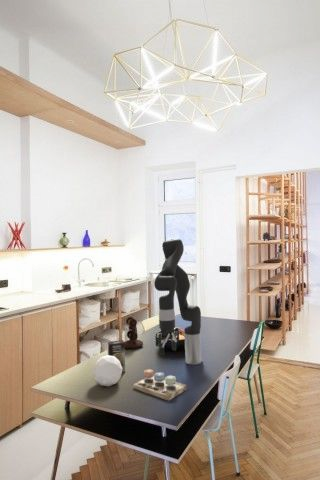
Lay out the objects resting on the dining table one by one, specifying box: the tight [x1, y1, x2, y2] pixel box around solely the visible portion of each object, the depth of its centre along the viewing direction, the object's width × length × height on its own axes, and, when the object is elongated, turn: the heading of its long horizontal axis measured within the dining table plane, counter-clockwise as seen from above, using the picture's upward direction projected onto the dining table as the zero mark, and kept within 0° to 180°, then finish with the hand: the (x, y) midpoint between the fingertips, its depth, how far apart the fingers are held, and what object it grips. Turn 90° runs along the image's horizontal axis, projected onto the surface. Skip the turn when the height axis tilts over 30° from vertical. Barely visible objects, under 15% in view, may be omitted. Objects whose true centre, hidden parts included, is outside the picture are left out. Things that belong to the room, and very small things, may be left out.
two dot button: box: [143, 369, 155, 379], centre depth 165 cm, size 5×5×2 cm
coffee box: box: [107, 339, 126, 373], centre depth 187 cm, size 9×6×16 cm
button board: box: [132, 377, 188, 401], centre depth 161 cm, size 14×22×3 cm, turn 50°
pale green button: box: [164, 375, 177, 385], centre depth 156 cm, size 5×5×2 cm
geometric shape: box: [92, 354, 123, 387], centre depth 169 cm, size 14×15×15 cm
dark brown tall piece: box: [123, 316, 144, 351], centre depth 229 cm, size 15×15×20 cm
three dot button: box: [154, 372, 166, 382], centre depth 161 cm, size 5×5×2 cm
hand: (168, 352), depth 157 cm, fingers open, 8 cm apart
